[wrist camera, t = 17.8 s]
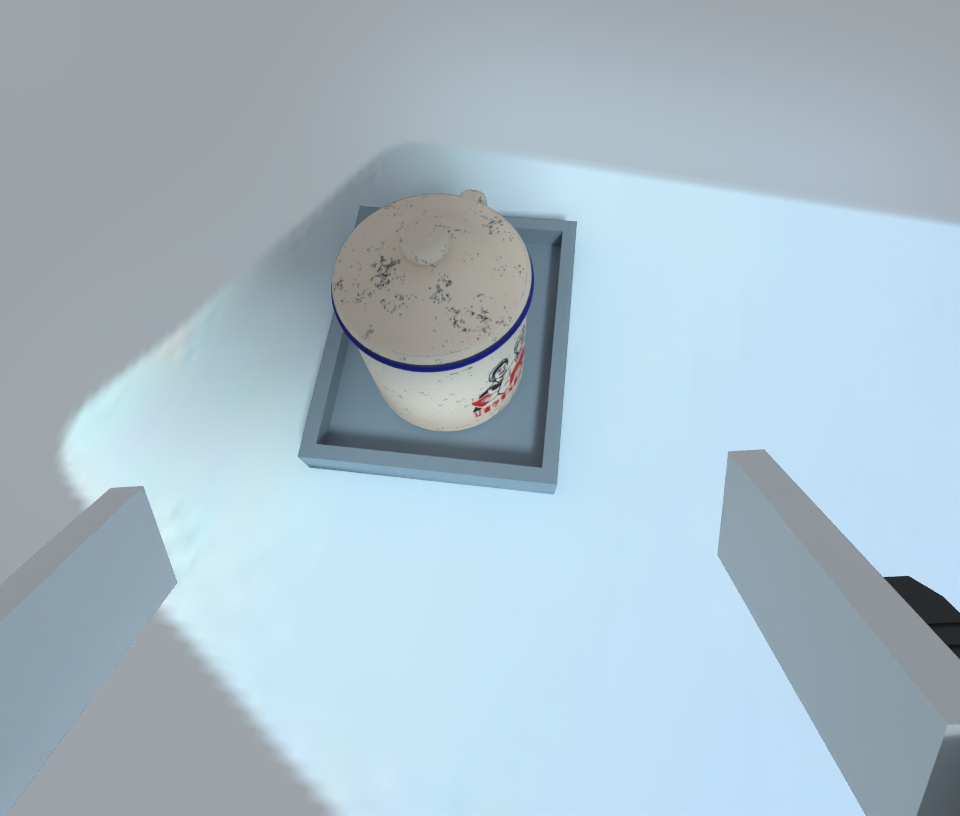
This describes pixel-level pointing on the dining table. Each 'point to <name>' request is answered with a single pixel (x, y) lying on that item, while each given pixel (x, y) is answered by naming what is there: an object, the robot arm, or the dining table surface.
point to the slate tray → (470, 452)
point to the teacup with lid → (437, 307)
